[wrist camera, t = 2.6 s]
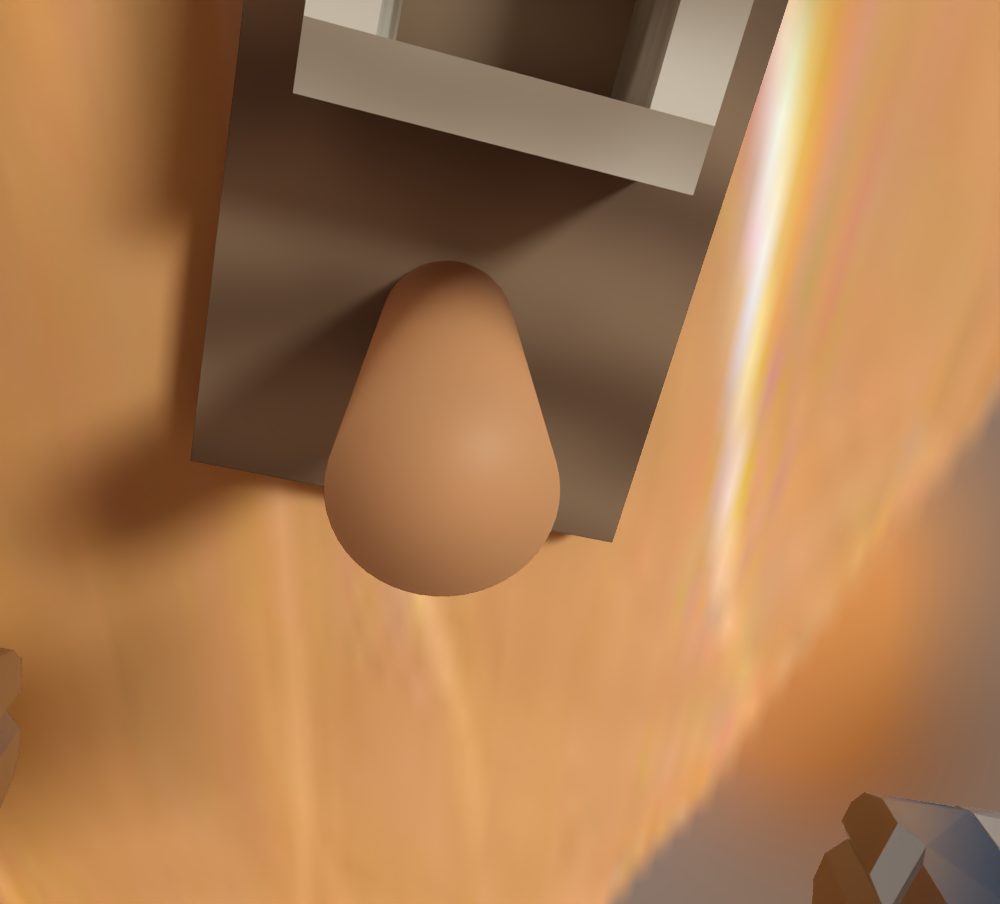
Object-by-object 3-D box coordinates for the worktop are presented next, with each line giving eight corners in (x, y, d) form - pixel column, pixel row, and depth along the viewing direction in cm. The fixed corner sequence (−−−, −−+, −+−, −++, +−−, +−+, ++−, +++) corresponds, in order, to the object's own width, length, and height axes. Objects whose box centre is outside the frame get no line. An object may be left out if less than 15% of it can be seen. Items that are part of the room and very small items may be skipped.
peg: (496, 402, 26) (527, 614, 15) (369, 375, 26) (306, 574, 15) (527, 277, 25) (587, 410, 14) (394, 246, 24) (345, 358, 13)
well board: (602, 516, 30) (646, 636, 23) (207, 438, 28) (128, 543, 21) (830, -205, 22) (998, -346, 16) (307, -378, 21) (233, -628, 14)
